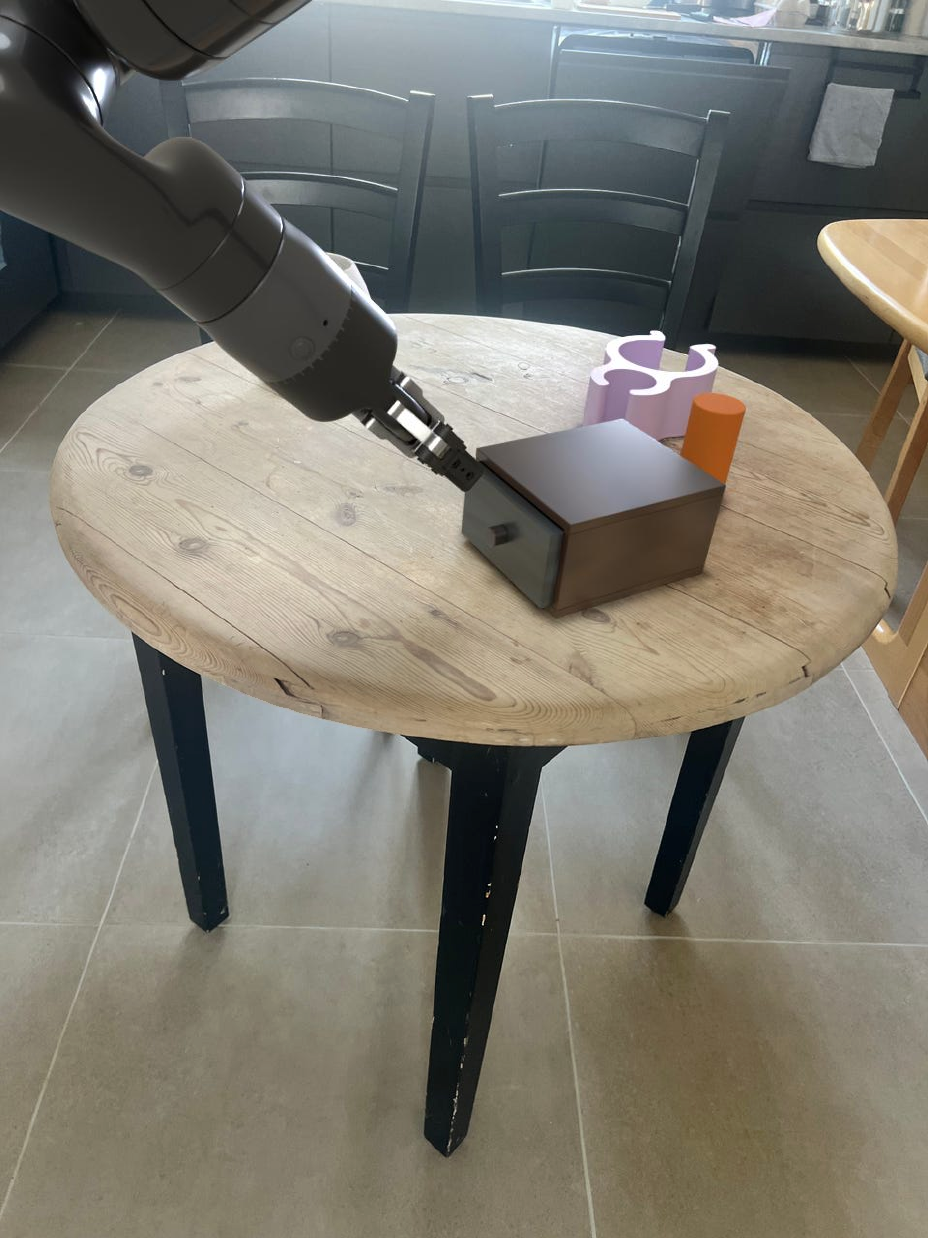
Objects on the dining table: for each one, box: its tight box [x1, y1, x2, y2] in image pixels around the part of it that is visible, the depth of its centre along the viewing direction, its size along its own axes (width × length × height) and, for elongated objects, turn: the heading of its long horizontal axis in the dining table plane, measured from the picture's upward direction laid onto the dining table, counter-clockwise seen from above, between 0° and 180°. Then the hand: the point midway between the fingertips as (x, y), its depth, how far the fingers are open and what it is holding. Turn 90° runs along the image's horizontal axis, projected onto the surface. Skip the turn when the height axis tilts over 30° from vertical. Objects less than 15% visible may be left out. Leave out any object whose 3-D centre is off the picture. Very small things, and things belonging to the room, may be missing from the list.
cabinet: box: [475, 419, 727, 619], centre depth 77 cm, size 16×14×9 cm
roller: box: [679, 392, 747, 485], centre depth 86 cm, size 5×5×10 cm
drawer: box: [461, 461, 564, 610], centre depth 76 cm, size 16×12×7 cm
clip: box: [581, 330, 719, 442], centre depth 101 cm, size 20×12×7 cm, turn 149°
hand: (470, 477), depth 63 cm, fingers closed
